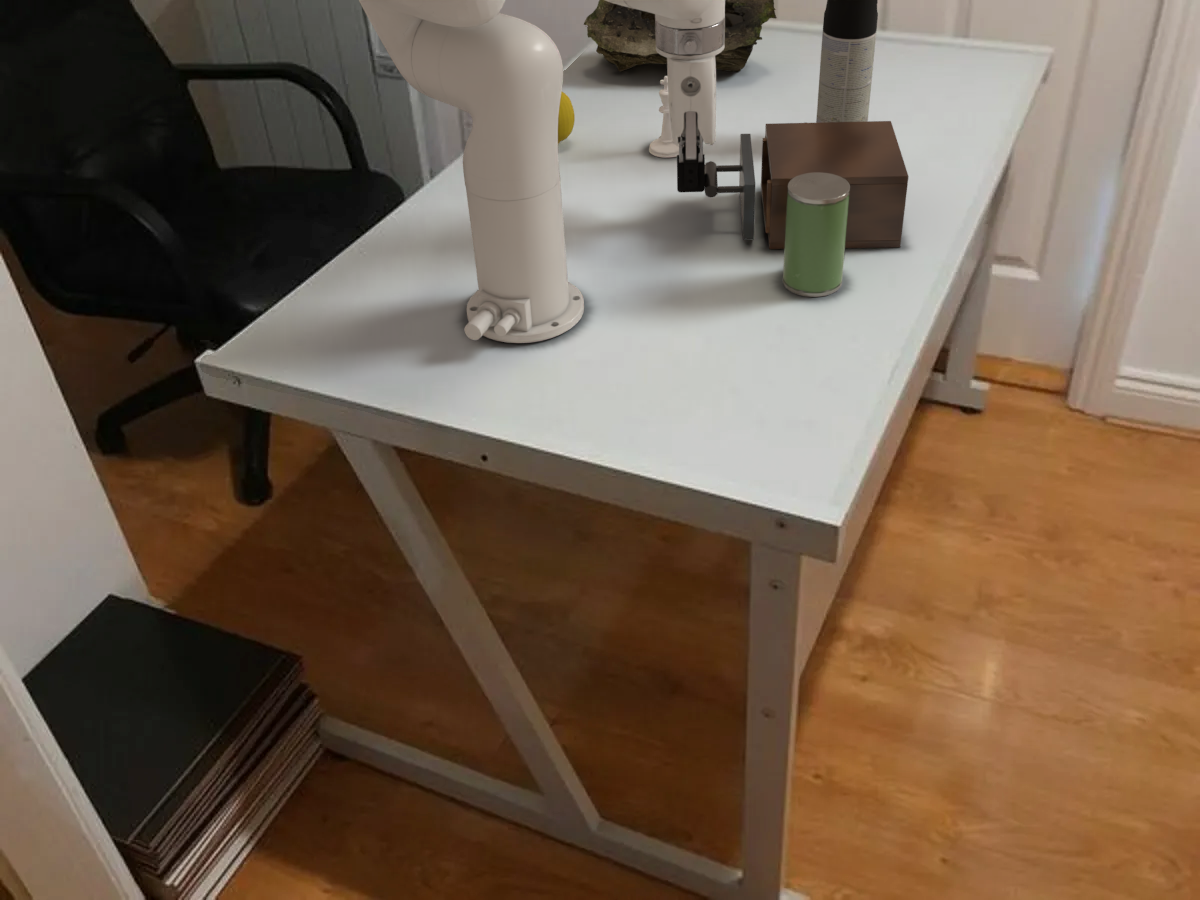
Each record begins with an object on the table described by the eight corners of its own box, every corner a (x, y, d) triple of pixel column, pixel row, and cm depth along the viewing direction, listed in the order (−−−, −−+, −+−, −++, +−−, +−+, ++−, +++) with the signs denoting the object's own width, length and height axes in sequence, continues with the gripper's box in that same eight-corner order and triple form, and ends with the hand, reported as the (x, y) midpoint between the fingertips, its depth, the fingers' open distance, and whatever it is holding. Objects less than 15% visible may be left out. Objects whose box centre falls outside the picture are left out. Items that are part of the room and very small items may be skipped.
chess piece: (672, 160, 159) (671, 86, 153) (641, 152, 162) (639, 79, 155) (693, 147, 162) (693, 73, 156) (662, 139, 165) (661, 66, 158)
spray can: (864, 131, 163) (878, -22, 151) (867, 153, 158) (882, -3, 146) (813, 131, 164) (823, -21, 152) (815, 153, 159) (826, -2, 146)
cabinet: (769, 249, 140) (772, 178, 134) (762, 190, 151) (765, 123, 146) (900, 247, 139) (908, 176, 133) (883, 188, 150) (891, 120, 145)
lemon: (528, 149, 164) (522, 92, 159) (548, 133, 168) (543, 77, 163) (563, 156, 162) (559, 98, 157) (583, 140, 166) (580, 83, 161)
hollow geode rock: (771, 102, 184) (790, 7, 185) (763, 68, 172) (783, -34, 173) (595, 83, 191) (614, -8, 192) (574, 49, 179) (595, -49, 180)
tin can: (833, 301, 130) (841, 203, 123) (775, 291, 132) (780, 194, 125) (848, 272, 135) (856, 176, 128) (792, 263, 137) (797, 168, 130)
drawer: (704, 240, 140) (705, 185, 136) (703, 187, 151) (704, 134, 146) (863, 238, 139) (868, 182, 134) (850, 184, 149) (855, 131, 145)
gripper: (727, 59, 126) (724, 218, 138) (722, 9, 138) (721, 160, 149) (654, 61, 127) (658, 220, 138) (656, 12, 138) (659, 162, 150)
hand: (690, 188), depth 144 cm, fingers closed
